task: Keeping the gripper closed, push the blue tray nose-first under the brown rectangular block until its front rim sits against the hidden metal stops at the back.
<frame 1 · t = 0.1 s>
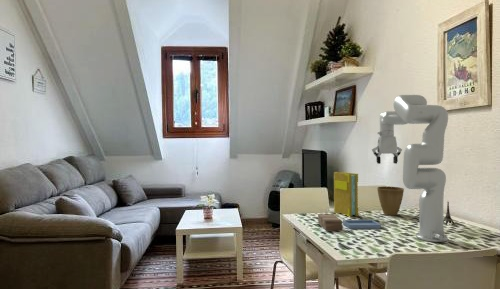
hand: (387, 163, 195), 31 cm above the table, tool pointing down, fingers open, 9 cm apart
eiffel tower figurine: (448, 225, 177), on the table
plant pot: (390, 214, 202), on the table
brown rectangular block: (330, 226, 173), on the table
blue tray: (361, 226, 173), on the table
book: (344, 214, 204), on the table
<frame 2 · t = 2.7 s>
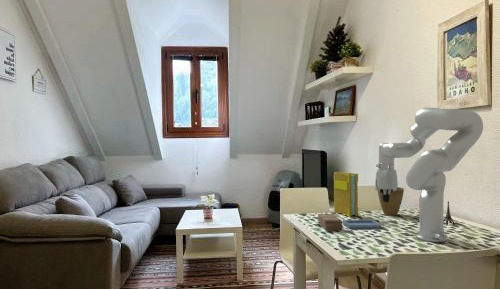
hand: (385, 201, 174), 12 cm above the table, tool pointing down, fingers closed
nothing on the table moved.
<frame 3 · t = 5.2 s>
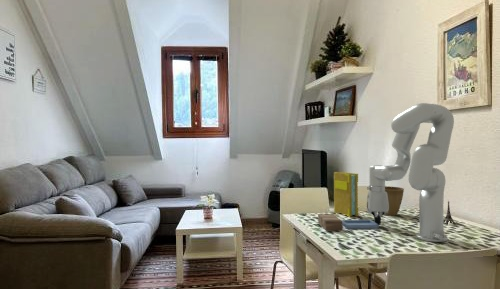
hand: (377, 224, 173), 1 cm above the table, tool pointing down, fingers closed
blue tray: (359, 226, 173), on the table, touching gripper
everything else where it was.
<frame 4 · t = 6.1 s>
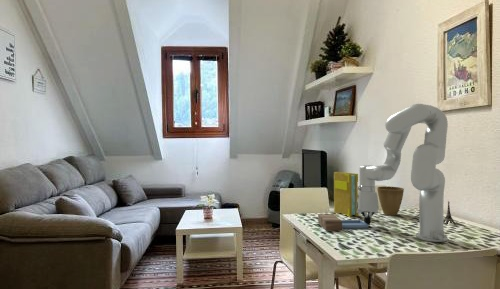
hand: (367, 224, 173), 1 cm above the table, tool pointing down, fingers closed
blue tray: (349, 226, 173), on the table, touching gripper
everything else where it was.
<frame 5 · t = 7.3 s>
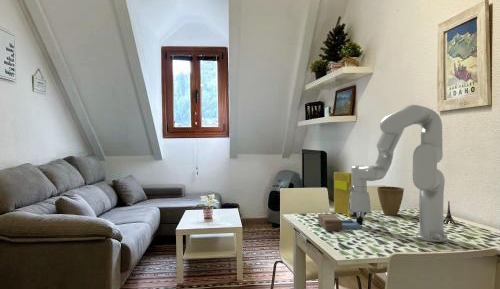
hand: (359, 224, 173), 1 cm above the table, tool pointing down, fingers closed
blue tray: (341, 226, 173), on the table, touching gripper, brown rectangular block
everything else where it was.
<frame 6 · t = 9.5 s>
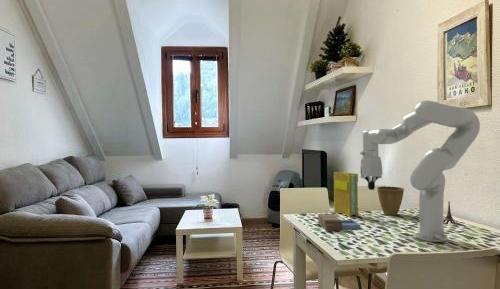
hand: (371, 189, 173), 19 cm above the table, tool pointing down, fingers closed
blue tray: (341, 226, 173), on the table
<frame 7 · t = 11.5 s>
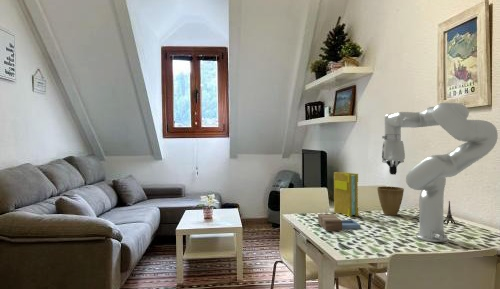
hand: (393, 174, 169), 27 cm above the table, tool pointing down, fingers closed
at the end: blue tray 0.4 cm from the target spot on the table beside the brown rectangular block, on the table; blue tray tilted 0°; the gripper is holding nothing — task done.
